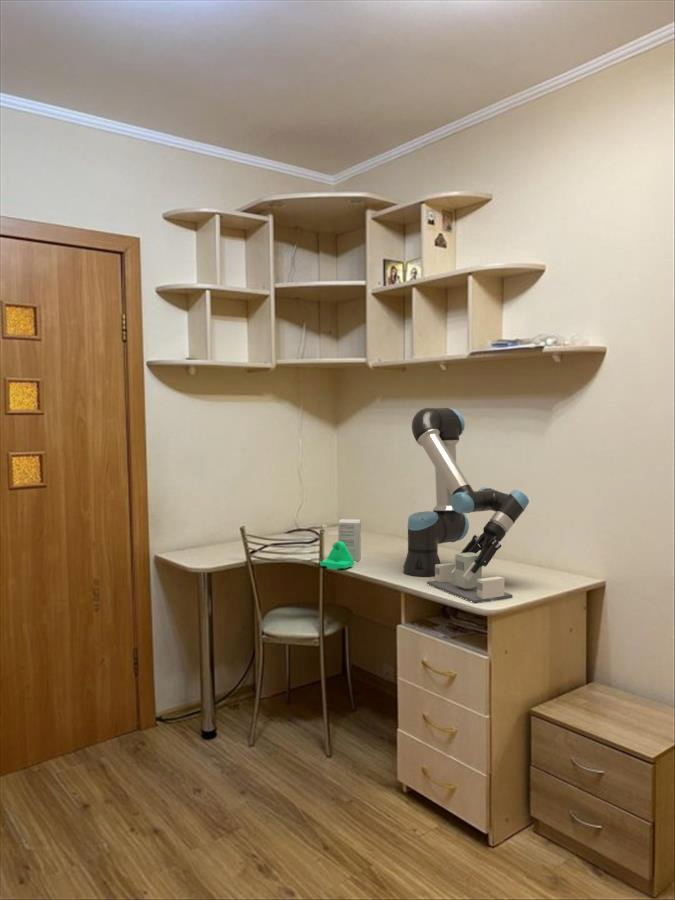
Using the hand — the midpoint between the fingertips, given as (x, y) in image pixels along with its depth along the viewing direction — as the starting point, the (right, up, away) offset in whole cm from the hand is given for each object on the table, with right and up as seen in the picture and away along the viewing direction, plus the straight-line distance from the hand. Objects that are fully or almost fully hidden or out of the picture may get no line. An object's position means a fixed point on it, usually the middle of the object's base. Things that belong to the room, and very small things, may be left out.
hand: (459, 576), depth 240 cm
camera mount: (-43, -4, +39) cm, 59 cm away
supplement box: (-38, -3, +54) cm, 66 cm away
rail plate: (+3, -5, +2) cm, 6 cm away
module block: (+3, -3, +2) cm, 5 cm away
